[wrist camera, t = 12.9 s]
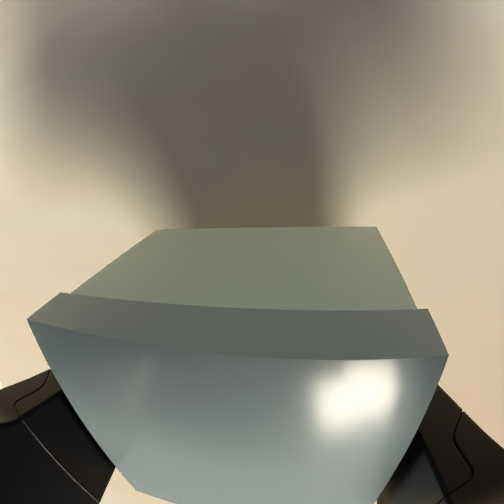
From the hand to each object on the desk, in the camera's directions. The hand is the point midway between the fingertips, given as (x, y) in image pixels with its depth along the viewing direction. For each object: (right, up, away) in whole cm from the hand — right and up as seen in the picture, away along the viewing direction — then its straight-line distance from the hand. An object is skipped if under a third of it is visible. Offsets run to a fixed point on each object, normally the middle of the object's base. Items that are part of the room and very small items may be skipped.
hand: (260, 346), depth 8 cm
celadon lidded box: (0, 0, +1) cm, 1 cm away
